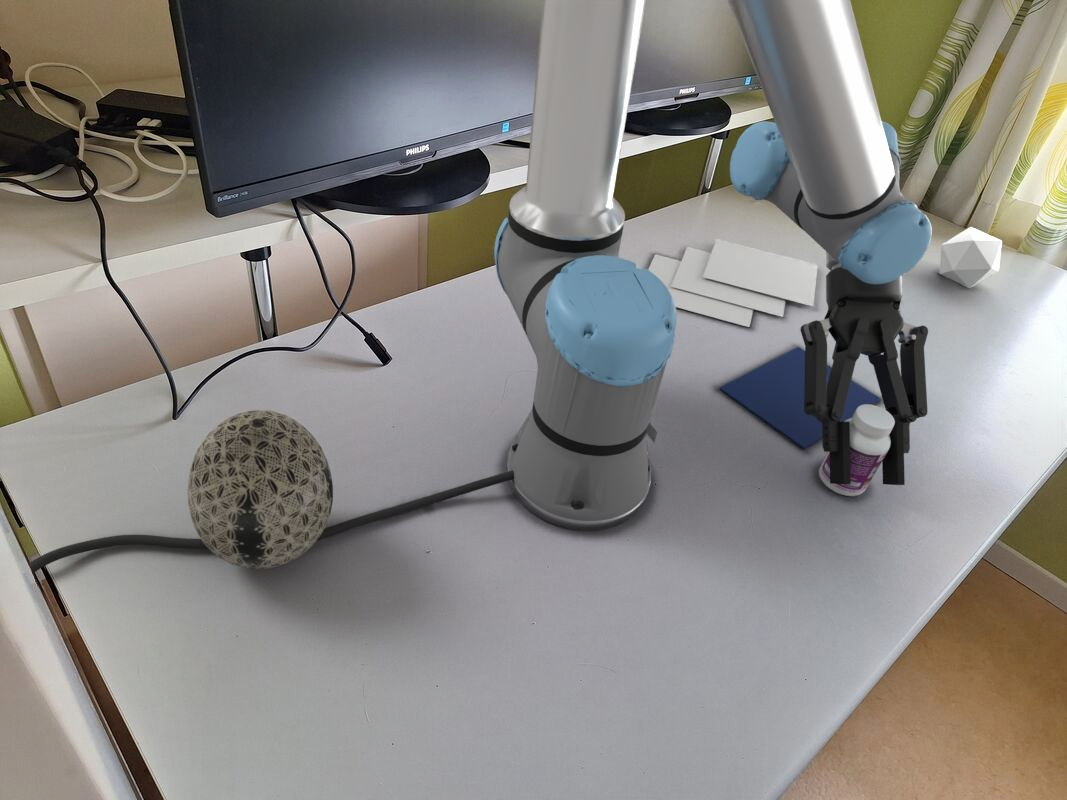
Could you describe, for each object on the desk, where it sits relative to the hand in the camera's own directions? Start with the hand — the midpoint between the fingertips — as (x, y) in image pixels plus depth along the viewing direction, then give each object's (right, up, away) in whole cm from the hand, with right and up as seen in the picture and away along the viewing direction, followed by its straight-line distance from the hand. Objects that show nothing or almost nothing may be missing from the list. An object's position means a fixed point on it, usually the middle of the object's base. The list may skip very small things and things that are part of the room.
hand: (867, 483), depth 80 cm
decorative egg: (-59, -5, -10) cm, 60 cm away
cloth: (-1, +9, +16) cm, 19 cm away
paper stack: (-5, +27, +37) cm, 46 cm away
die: (+35, +29, +46) cm, 65 cm away
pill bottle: (-1, 0, +5) cm, 5 cm away
